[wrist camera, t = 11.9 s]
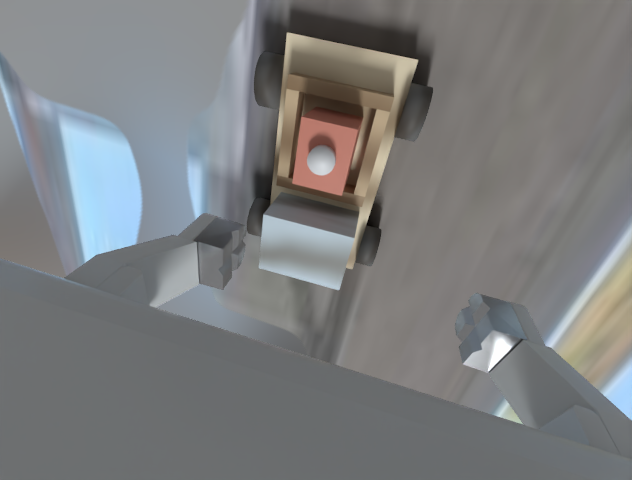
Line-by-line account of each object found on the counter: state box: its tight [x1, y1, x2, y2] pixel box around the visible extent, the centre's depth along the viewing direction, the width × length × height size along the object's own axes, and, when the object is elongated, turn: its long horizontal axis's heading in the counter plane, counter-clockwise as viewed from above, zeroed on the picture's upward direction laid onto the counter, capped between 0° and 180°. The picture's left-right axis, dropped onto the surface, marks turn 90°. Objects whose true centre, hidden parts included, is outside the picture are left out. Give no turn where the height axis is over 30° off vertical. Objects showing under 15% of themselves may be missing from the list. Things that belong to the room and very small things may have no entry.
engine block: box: [292, 107, 363, 196], centre depth 23 cm, size 5×4×6 cm
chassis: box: [247, 32, 433, 290], centre depth 26 cm, size 20×13×7 cm, turn 170°
